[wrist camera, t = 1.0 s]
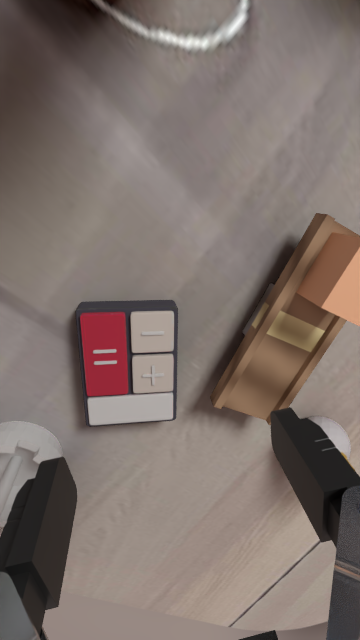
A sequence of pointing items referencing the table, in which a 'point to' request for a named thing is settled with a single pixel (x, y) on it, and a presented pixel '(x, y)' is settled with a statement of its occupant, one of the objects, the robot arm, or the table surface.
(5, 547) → the robot arm
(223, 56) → the table surface
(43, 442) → the flag stand
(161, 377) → the calculator
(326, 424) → the perfume bottle
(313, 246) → the beam
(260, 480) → the table surface
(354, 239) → the block
